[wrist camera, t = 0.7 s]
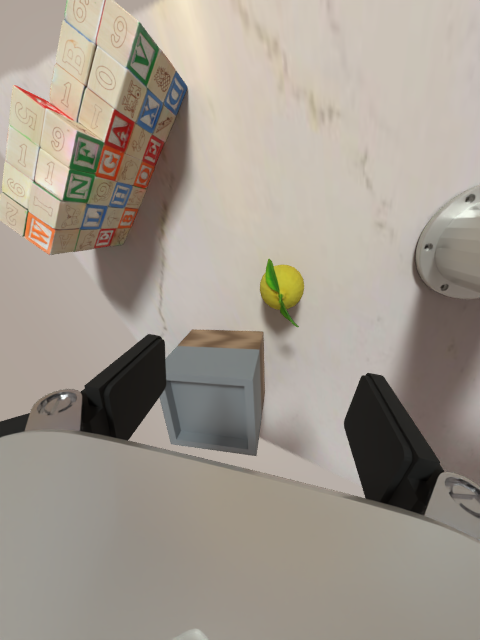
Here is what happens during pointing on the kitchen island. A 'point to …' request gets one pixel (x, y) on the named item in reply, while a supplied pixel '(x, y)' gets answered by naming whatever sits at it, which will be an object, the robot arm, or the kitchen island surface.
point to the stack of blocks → (89, 133)
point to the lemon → (281, 288)
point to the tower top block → (213, 398)
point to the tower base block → (229, 344)
